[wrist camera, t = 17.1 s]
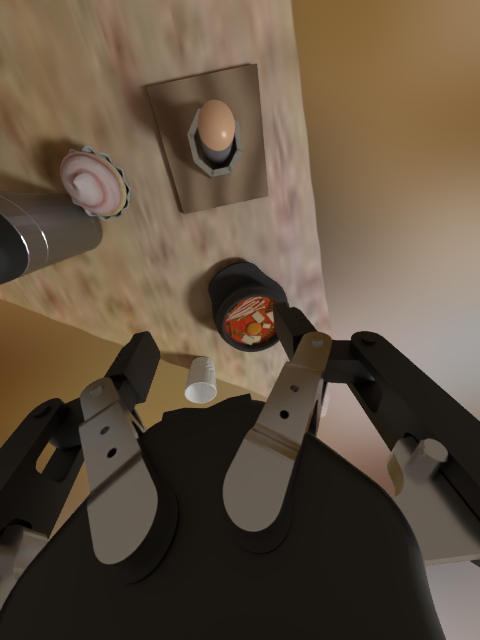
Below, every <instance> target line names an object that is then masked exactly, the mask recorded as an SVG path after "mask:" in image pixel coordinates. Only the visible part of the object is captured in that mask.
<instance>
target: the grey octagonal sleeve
mask: <svg viewBox="0 0 480 640" xmlns="http://www.w3.org/2000/svg"><path fill="white" fill-rule="evenodd" d="M200 110H201V109H198V110H197V113H196V115H195V117H194V120H193V122H192V124H191V127H190V129H189V132H188V134H187V135H188V139H189V143H190V147H191V152H192V156H193V160H194V163H195V165H196V166H197V167H198V168H199V169H200V170H202V171H203V172H204V173H205V174H206V175H208V176H209V177H210V178H211V179H215V178H220V177H225V176H229V175H231V173H232V171H233V169H234V167H235V165H236V163H237V162H238V160H239V158H240V156H241V154H242V152H243V149H242V142H241V134H240V126H239V123H238V122H237V121H236V120H235V119H234V121H235V134H234V138H233V144H234V151H235V155H234V157H233V159H232V161H231V163H230V165H229V167H225V168H221V169H216V170H212V169H211V168H210V167H208V166H207V165H206V164H205V163H204V162H203V161H201V160H200V159H199V156H198V152H197V147H196V143H195V142H196V140H197V138H198V136H199V131H198V115H199V112H200Z"/></svg>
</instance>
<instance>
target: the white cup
mask: <svg viewBox="0 0 480 640" xmlns="http://www.w3.org/2000/svg"><path fill="white" fill-rule="evenodd" d="M216 393H217V391H216V377H215V370H214V362H213V361H212V360H211V359H210V358H208V357H197V358H196V359H194V360H193V361H192V363H191V366H190V370H189V374H188V379H187V383H186V388H185V396H186V398H187V399H188V400H190V401H191V402H195V403H206V402H209V401H210V400H212V399H213V398H214V397H215V396H216Z"/></svg>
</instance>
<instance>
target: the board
mask: <svg viewBox="0 0 480 640" xmlns="http://www.w3.org/2000/svg"><path fill="white" fill-rule="evenodd" d="M146 88H147V91H148V94H149V98H150V101H151V104H152V108H153V111H154V115H155V118H156V121H157V125H158V128H159V131H160V135H161V138H162V142H163V145H164V148H165V152H166V155H167V158H168V162H169V165H170V168H171V172H172V175H173V179H174V182H175V185H176V189H177V192H178V195H179V199H180V202H181V205H182V209H183V212H184V214H187V213H191V212H196V211H201V210H205V209H210V208H215V207H219V206H224V205H228V204H233V203H238V202H242V201H247V200H252V199H256V198H261V197H265V196H268V186H267V174H266V162H265V151H264V139H263V127H262V116H261V104H260V92H259V81H258V69H257V64H252V65H248V66H243V67H238V68H233V69H229V70H224V71H219V72H215V73H210V74H205V75H200V76H196V77H191V78H186V79H181V80H177V81H172V82H167V83H163V84H158V85H153V86H148V87H146ZM210 100H219V101H222V102H223V103H225V104H226V105H227V106H228V107H229V109H230V110H231V112H232V114H233V117H234V119H235V120H236V121H237V122H238V123H239V126H240V134H241V142H242V149H243V152H242V154H241V156H240V158H239V160H238V162H237V163H236V165H235V167H234V169H233V171H232V173H231V175H229V176H225V177H220V178H215V179H211V178H210V177H209V176H208V175H206V174H205V173H204V172H203V171H202V170H200V169H199V168H198V167H197V166H196V165H195V163H194V160H193V156H192V152H191V147H190V143H189V139H188V135H187V134H188V132H189V129H190V127H191V124H192V122H193V120H194V117H195V115H196V113H197V110H198V109H201V108H202V106H203V105H204V104H205V103H206V102H208V101H210ZM195 143H196V147H197V152H198V156H199V159H200V160H201V161H203V162H204V163H205V164H206V165H207V166H208V167H210V168H211V169H212V170H216V169H221V168H225V167H229V165H230V163H231V161H232V159H233V157H234V155H235V151H234V144H233V142H232V146H231V150H230V154H229V158H228V160H227V161H226V162H225V163H224V164H223V165H220V166H215V165H212V164H211V163H209V162H208V161H207V159H206V158H205V155H204V152H203V148H202V144H201V139H200V135H199V136H198V138H197V140H196V142H195Z"/></svg>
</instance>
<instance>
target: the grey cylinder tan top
mask: <svg viewBox="0 0 480 640" xmlns="http://www.w3.org/2000/svg"><path fill="white" fill-rule="evenodd" d="M198 131H199V135H200V139H201V144H202V148H203V152H204V155H205V158H206V159H207V161H208V162H209V163H211V164H212V165H215V166H220V165H223V164H224V163H225V162H226V161H227V160H228V158H229V154H230V150H231V146H232V142H233V138H234V134H235V121H234V117H233V114H232V112H231V110H230V109H229V107H228V106H227V105H226V104H225V103H223V102H222V101H219V100H210V101H208V102H206V103H205V104H204V105H203V106H202V108H201V110H200V112H199V115H198Z"/></svg>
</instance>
